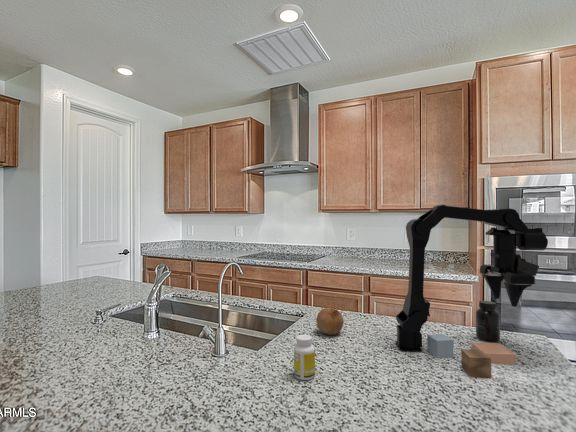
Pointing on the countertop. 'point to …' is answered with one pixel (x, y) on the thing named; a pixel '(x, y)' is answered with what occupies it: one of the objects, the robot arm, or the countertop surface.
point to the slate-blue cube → (440, 345)
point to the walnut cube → (476, 363)
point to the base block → (495, 352)
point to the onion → (330, 321)
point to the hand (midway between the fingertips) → (505, 302)
